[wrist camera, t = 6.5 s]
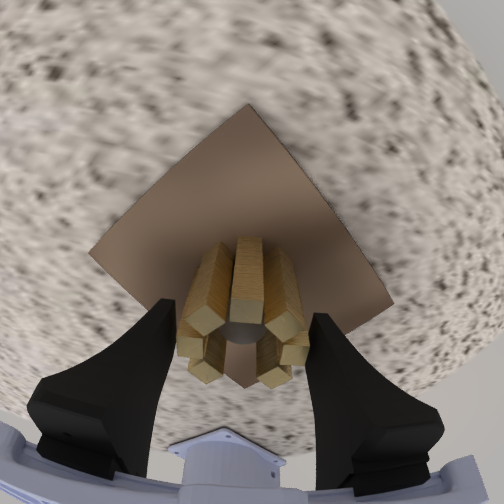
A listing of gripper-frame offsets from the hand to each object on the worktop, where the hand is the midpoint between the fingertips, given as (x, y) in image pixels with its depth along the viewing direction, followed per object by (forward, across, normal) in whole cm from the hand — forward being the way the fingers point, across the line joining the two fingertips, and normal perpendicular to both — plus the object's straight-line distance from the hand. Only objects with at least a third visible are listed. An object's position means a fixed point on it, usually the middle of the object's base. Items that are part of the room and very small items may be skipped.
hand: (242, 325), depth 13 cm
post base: (+5, 0, 0) cm, 5 cm away
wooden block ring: (+3, 0, 0) cm, 3 cm away
